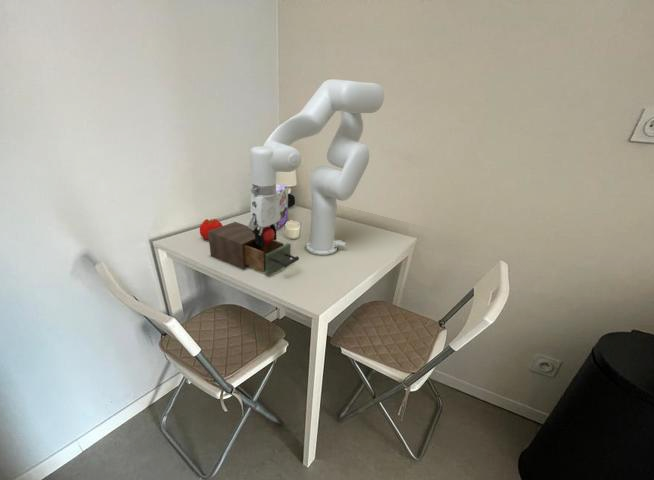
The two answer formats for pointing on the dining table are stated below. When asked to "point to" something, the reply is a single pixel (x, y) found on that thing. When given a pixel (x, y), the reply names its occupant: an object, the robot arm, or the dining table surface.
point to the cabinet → (230, 243)
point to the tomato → (209, 227)
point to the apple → (268, 235)
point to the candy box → (282, 203)
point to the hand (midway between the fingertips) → (266, 241)
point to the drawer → (268, 256)
